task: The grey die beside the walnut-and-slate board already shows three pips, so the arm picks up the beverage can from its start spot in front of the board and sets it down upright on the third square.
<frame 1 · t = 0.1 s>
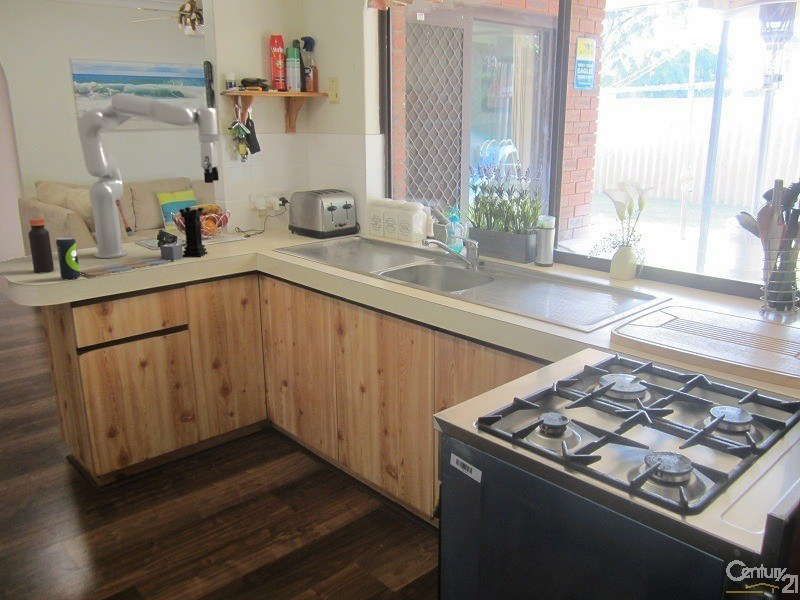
hand: (211, 181, 267), 31 cm above the counter, tool pointing down, fingers open, 9 cm apart
beverage can: (70, 278, 236), on the counter
die: (172, 259, 267), on the counter
board: (124, 268, 252), on the counter
bottle: (44, 271, 246), on the counter
chess piece: (195, 255, 276), on the counter
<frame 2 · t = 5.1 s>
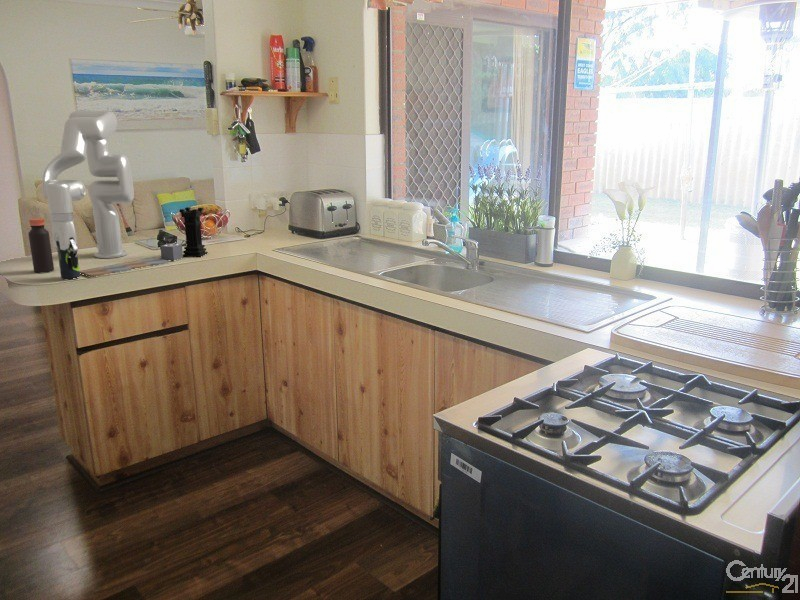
hand: (69, 266, 235), 4 cm above the counter, tool pointing down, fingers open, 5 cm apart
beverage can: (71, 278, 236), on the counter, touching gripper
everything else where it was.
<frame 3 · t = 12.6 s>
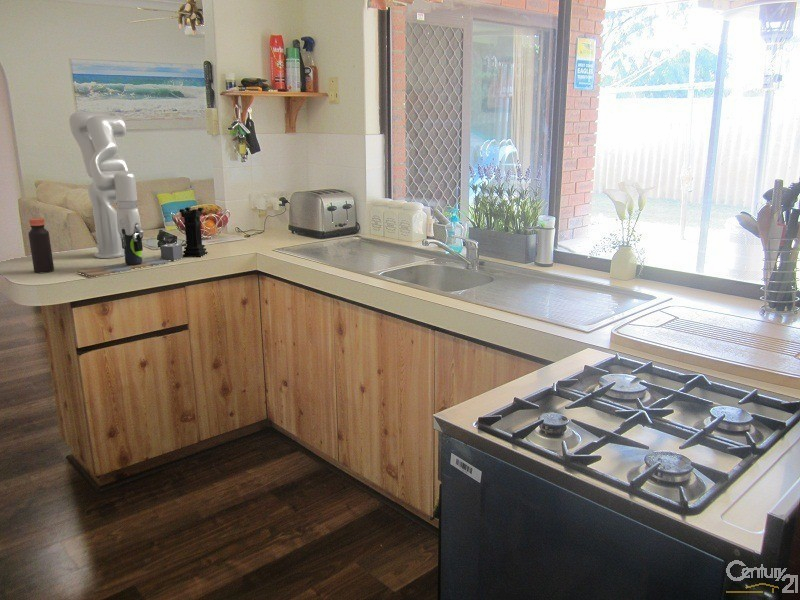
hand: (132, 249, 253), 7 cm above the counter, tool pointing down, fingers open, 8 cm apart
beverage can: (134, 264, 254), point 1 cm above the counter, touching board
everything else where it was.
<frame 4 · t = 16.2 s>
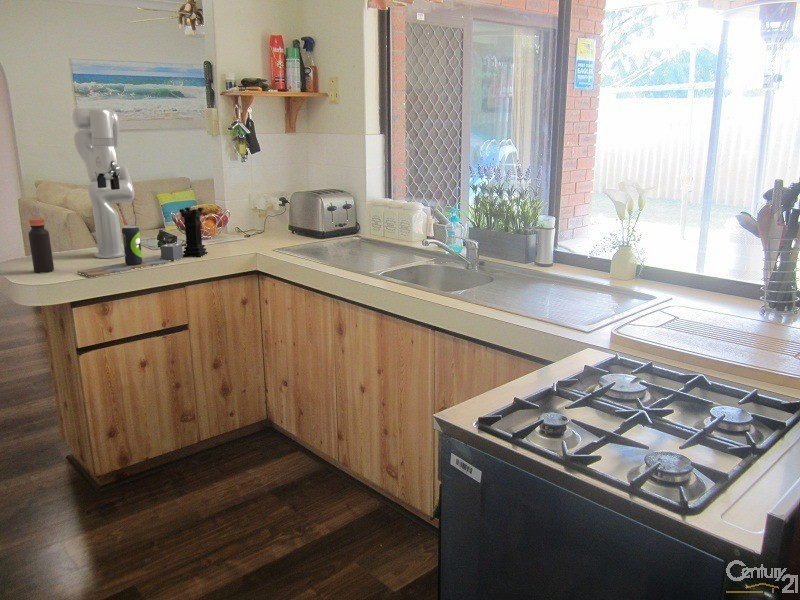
hand: (108, 188, 248), 30 cm above the counter, tool pointing down, fingers open, 9 cm apart
nothing on the counter moved.
at the end: beverage can inside the target area on the board (0.2 cm from its centre), point 0.8 cm above the board's base; beverage can tilted 0°; the gripper is holding nothing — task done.
